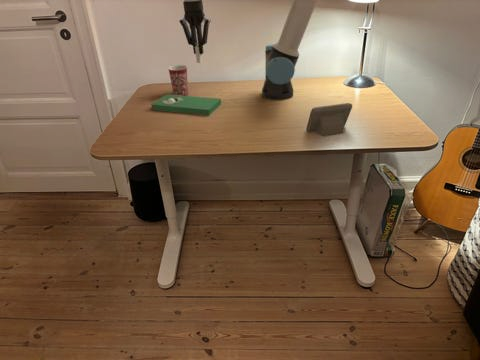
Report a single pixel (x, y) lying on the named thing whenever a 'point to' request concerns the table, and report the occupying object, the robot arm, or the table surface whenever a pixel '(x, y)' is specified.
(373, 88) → the table surface
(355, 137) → the table surface
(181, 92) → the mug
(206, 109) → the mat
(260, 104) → the table surface
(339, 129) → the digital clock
